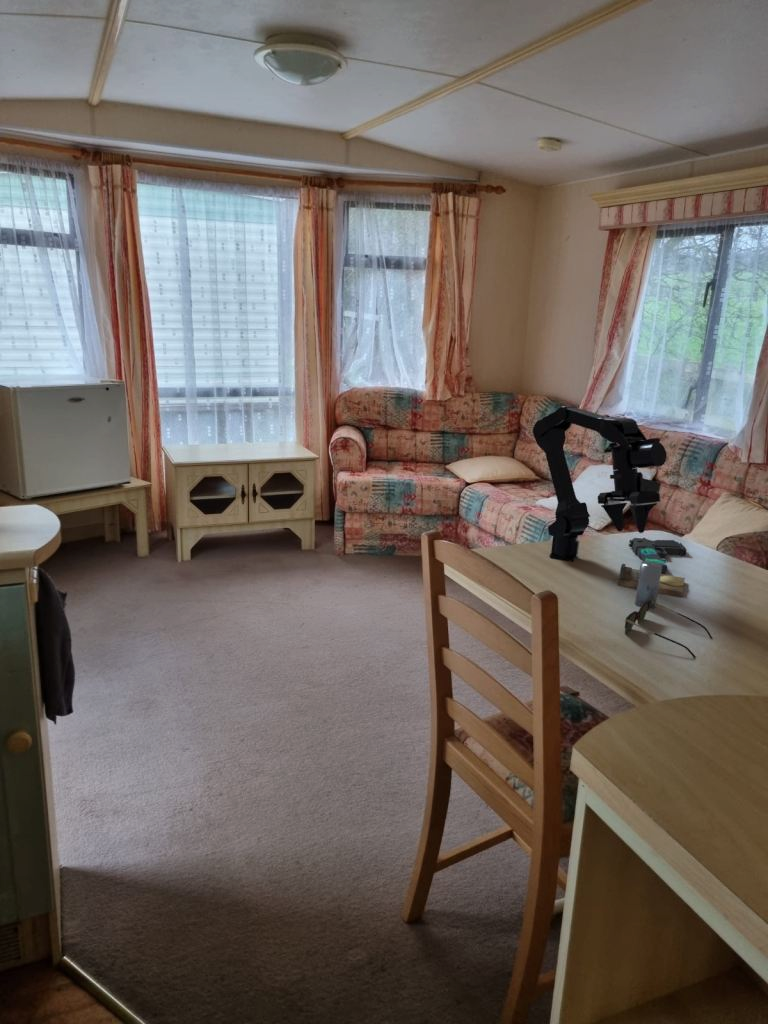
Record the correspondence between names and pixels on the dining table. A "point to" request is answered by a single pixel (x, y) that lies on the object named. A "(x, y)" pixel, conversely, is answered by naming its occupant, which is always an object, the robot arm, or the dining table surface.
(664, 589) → the door lock
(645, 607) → the sunglasses
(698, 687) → the dining table surface
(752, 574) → the dining table surface
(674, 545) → the handgun
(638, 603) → the silver metal cylinder
